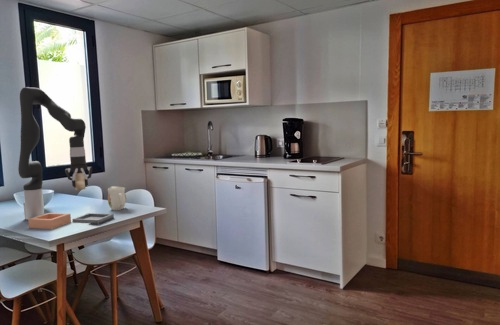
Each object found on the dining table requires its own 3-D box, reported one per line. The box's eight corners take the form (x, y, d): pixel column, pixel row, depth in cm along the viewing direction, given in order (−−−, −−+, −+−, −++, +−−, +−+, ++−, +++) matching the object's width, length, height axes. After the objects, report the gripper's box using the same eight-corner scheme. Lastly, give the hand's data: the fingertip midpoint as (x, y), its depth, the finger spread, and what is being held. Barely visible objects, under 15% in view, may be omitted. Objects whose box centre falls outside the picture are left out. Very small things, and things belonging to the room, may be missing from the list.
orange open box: (29, 229, 194) (28, 219, 193) (49, 222, 208) (48, 212, 207) (51, 230, 191) (51, 220, 190) (71, 223, 204) (70, 213, 204)
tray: (72, 223, 204) (72, 219, 204) (89, 217, 217) (89, 213, 217) (98, 224, 200) (98, 220, 200) (113, 218, 214) (113, 213, 213)
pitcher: (113, 213, 226) (111, 190, 225) (105, 208, 241) (103, 187, 239) (131, 210, 232) (130, 188, 231) (122, 205, 247) (121, 185, 246)
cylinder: (73, 189, 202) (71, 173, 201) (79, 188, 207) (78, 172, 206) (81, 190, 201) (79, 173, 200) (87, 188, 205) (86, 172, 204)
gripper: (63, 156, 195) (66, 189, 197) (92, 154, 202) (95, 186, 204) (62, 156, 202) (65, 187, 203) (91, 154, 209) (93, 184, 210)
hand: (80, 186), depth 204 cm, fingers closed on cylinder, 5 cm apart
